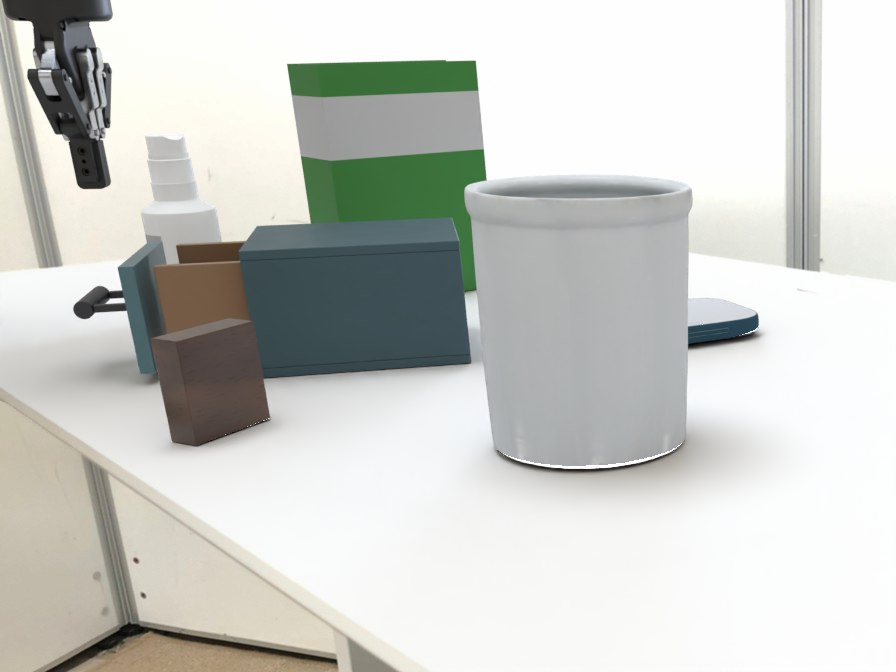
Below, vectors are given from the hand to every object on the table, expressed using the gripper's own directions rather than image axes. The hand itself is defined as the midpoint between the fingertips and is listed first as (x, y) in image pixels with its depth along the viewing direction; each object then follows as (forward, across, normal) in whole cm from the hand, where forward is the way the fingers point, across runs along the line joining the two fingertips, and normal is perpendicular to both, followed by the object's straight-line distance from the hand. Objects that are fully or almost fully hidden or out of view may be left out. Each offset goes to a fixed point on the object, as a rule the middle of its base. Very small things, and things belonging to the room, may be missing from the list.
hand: (95, 187), depth 99 cm
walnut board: (+15, +21, +12) cm, 28 cm away
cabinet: (+15, -2, +20) cm, 25 cm away
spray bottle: (+16, -18, +2) cm, 24 cm away
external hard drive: (+15, -1, +44) cm, 47 cm away
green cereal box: (+16, -29, +22) cm, 39 cm away
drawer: (+14, -1, +8) cm, 16 cm away
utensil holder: (+14, +29, +39) cm, 50 cm away
